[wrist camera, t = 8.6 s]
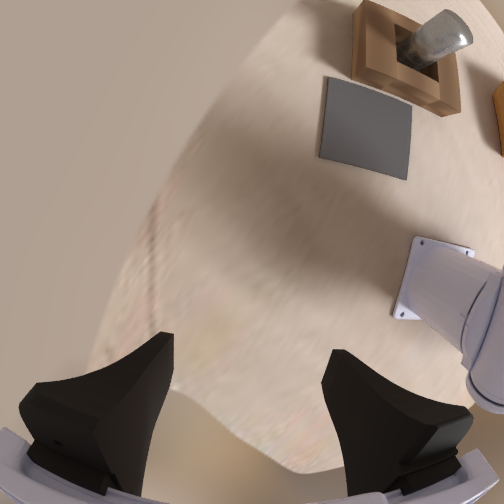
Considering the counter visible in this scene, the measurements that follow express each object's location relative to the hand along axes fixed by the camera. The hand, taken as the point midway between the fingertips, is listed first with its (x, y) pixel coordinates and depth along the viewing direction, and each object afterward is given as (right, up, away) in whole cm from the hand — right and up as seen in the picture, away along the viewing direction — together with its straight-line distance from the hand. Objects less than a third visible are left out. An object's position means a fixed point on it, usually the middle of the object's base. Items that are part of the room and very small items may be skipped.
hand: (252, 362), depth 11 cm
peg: (+14, +22, +6) cm, 27 cm away
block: (+14, +22, +6) cm, 27 cm away
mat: (+9, +15, +8) cm, 19 cm away
